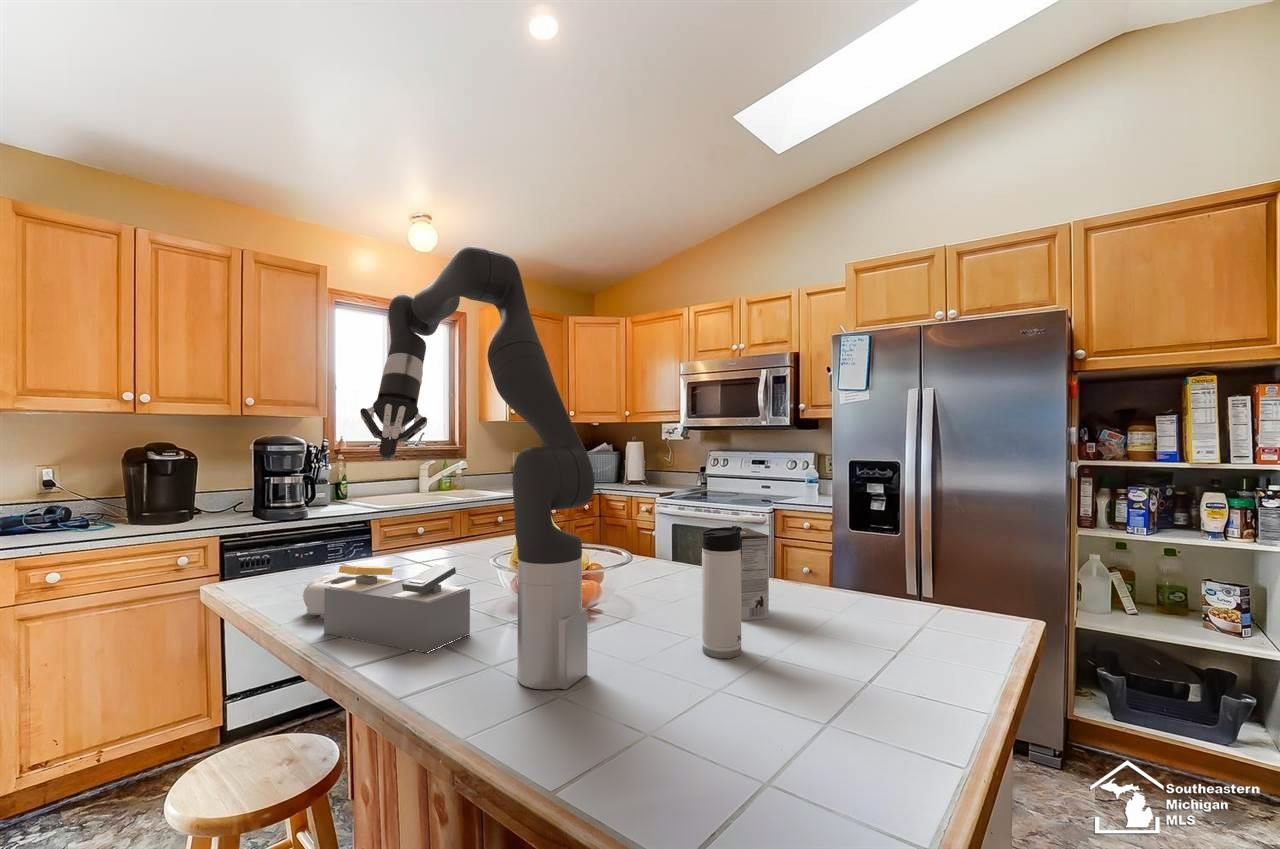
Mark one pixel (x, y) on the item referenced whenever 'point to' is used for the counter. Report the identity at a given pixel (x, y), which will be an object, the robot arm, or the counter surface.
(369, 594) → the grey switch box
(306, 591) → the cable organizer
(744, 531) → the coffee box
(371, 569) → the amber rocker
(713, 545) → the travel mug
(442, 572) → the black rocker
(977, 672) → the counter surface
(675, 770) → the counter surface
